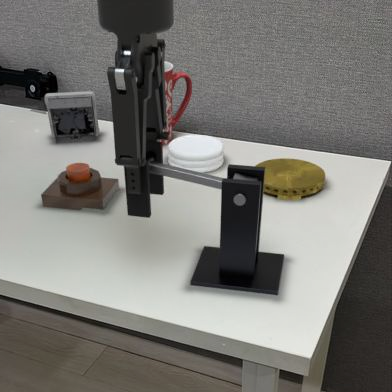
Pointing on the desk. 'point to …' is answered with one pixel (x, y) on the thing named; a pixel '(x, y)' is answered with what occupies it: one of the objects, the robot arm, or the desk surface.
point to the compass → (292, 178)
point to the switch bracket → (240, 240)
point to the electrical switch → (72, 116)
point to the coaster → (196, 153)
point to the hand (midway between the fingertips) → (146, 203)
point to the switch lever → (188, 173)
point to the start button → (78, 172)
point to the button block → (80, 192)
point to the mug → (169, 86)
